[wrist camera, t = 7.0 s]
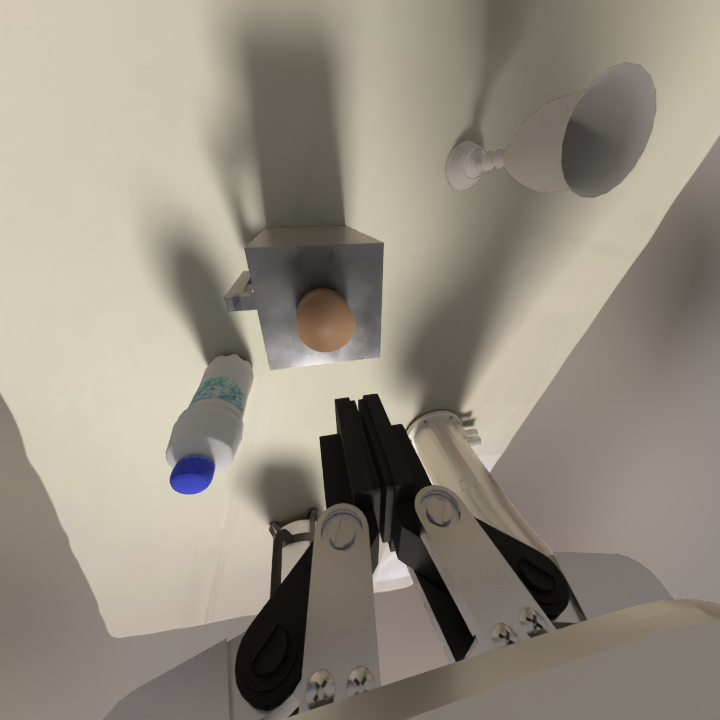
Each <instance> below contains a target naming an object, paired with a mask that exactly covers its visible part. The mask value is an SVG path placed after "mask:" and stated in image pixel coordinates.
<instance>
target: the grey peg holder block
mask: <svg viewBox="0 0 720 720" xmlns="http://www.w3.org/2000/svg"><path fill="white" fill-rule="evenodd" d="M244 249H245V254H246V259H247V263H248V268H249V271H243V273H242V274H241V275H240V277H239V278H238V279H237V281H236V282H235V284H234V285H233V286H232V288H231V289H230V290H229V292H228V293H227V295H226V296H225V297H224V300H225V303H226V307H227V311H228V312H230V311H243V310H256V309H257V310H258V315H259V320H260V325H261V329H262V334H263V339H264V343H265V348H266V353H267V358H268V362H269V367H270V370H275V369H284V368H292V367H301V366H310V365H318V364H327V363H336V362H344V361H353V360H362V359H370V358H379V357H380V340H381V310H382V280H383V250H384V243H383V242H381V241H379V240H377V239H374V238H372V237H370V236H368V235H366V234H363V233H361V232H359V231H357V230H355V229H352V228H350V227H348V226H346V225H343V226H305V227H266V228H265V229H264V230H263V231H262V232H261V233H260V234H259V235H258V236H257V237H256V238H254V239H253V240H252V241H251V242H250V243H249V244H248V245H247V246H246V247H245V248H244ZM319 288H327V289H332V290H334V291H336V292H338V293H339V294H341V295H342V296H343V297H344V299H345V300H346V302H347V304H348V306H349V307H350V309H351V311H352V313H353V315H354V319H355V331H354V334H353V336H352V338H351V339H350V341H349V342H348V343H347V344H346V345H345V346H344V347H342V348H340V349H338V350H336V351H333V352H318V351H315V350H312V349H310V348H309V347H307V346H306V345H305V344H304V343H303V342H302V340H301V339H300V337H299V335H298V331H297V307H298V304H299V302H300V300H301V299H302V298H303V296H304V295H306V294H307V293H308V292H310V291H312V290H315V289H319ZM252 290H253V292H252Z"/></svg>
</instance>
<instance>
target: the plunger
mask: <svg viewBox="0 0 720 720" xmlns="http://www.w3.org/2000/svg"><path fill="white" fill-rule="evenodd" d="M297 331H298V335H299V337H300V339H301V340H302V342H303V343H304V344H305V345H306V346H307V347H309V348H310V349H312V350H315V351H318V352H333V351H336V350H338V349H340V348H342V347H344V346H345V345H346V344H347V343H348V342H349V341H350V339H351V338H352V336H353V334H354V331H355V319H354V315H353V313H352V311H351V309H350V307H349V306H348V304H347V302H346V300H345V299H344V297H343V296H342V295H341V294H339V293H338V292H336V291H334V290H332V289H327V288H319V289H315V290H312V291H310V292H308V293H307V294H306V295H304V296H303V298H302V299H301V300H300V302H299V304H298V307H297Z"/></svg>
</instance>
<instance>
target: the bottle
mask: <svg viewBox="0 0 720 720" xmlns="http://www.w3.org/2000/svg"><path fill="white" fill-rule="evenodd" d="M252 383H253V372H252V368H251V365H250V363H249V362H248V361H247V360H245V361H244V360H242V359H241V358H240V357H239V356H238V355H237V354H232V355H229V356H223V355H220V356H218V357H216V358H215V359H214V360H213V361H212V362H211V363H210V364H209V365H208V367H207V368H206V370H205V373H204V375H203V378H202V381H201V383H200V386H199V388H198V389H197V391H196V393H195V395H194V397H193V399H192V401H191V403H190V405H189V407H188V409H186V410H185V411H184V412H183V413H182V414H181V415H180V416H179V419H178V420H177V422H176V423H175V424H174V426H173V430H172V434H171V437H170V441H169V444H168V447H167V450H166V459H167V462H168V463H169V465H170V466H171V467H172V468H173V471H172V473H171V476H170V484H171V486H172V488H173V489H174V490H175V491H177V492H179V493H182V494H196V493H199V492H201V491H203V490H205V489H206V488H207V487H208V486H209V485H210V483H211V481H212V479H213V475H215V474H218V473H220V472H222V471H224V470H225V469H226V468H228V467H229V465H230V464H231V463H232V461H233V458H234V456H235V453H236V451H237V448H238V446H239V444H240V442H241V440H242V432H243V426H244V425H243V421H242V419H243V415H244V410H245V406H246V402H247V397H248V394H249V392H250V389H251V386H252Z"/></svg>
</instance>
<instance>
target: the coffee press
mask: <svg viewBox="0 0 720 720" xmlns="http://www.w3.org/2000/svg"><path fill="white" fill-rule="evenodd" d="M316 514H317V509H313V508H310V509H309V513H308V517H307V519H306V520H298V521H295V522H292V523H289V524H287V525H285V526H284V527H283V528H282V527H280V526H279V525H278V524H277V523H276V522H273V523H272V524H271V525H270V527H269V531H270V533H271V534H272V536H273V556H272V572H271V590H270V598H271V597H272V595H273V594H274V593H275V591H276V590H277V589H278V587H279V586H280V585H281V583H282V582H283V580H284V579H285V578H286V576H287V575H288V574H289V572H290V571H291V570H292V568H293V567H294V566H295V564H296V563H297V562H298V560H299V559H300V558H301V556H302V555H303V554H304V552H305V551H306V550H307V548H308V547H309V546H310V544H311V543H312V542H313V540H314V533H315V527H316V523H317V521H315V520H316ZM272 526H274V527H275V528H276V529H277V530H278V532H277V533H276V534H275V532H274V530H273V528H272Z"/></svg>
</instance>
